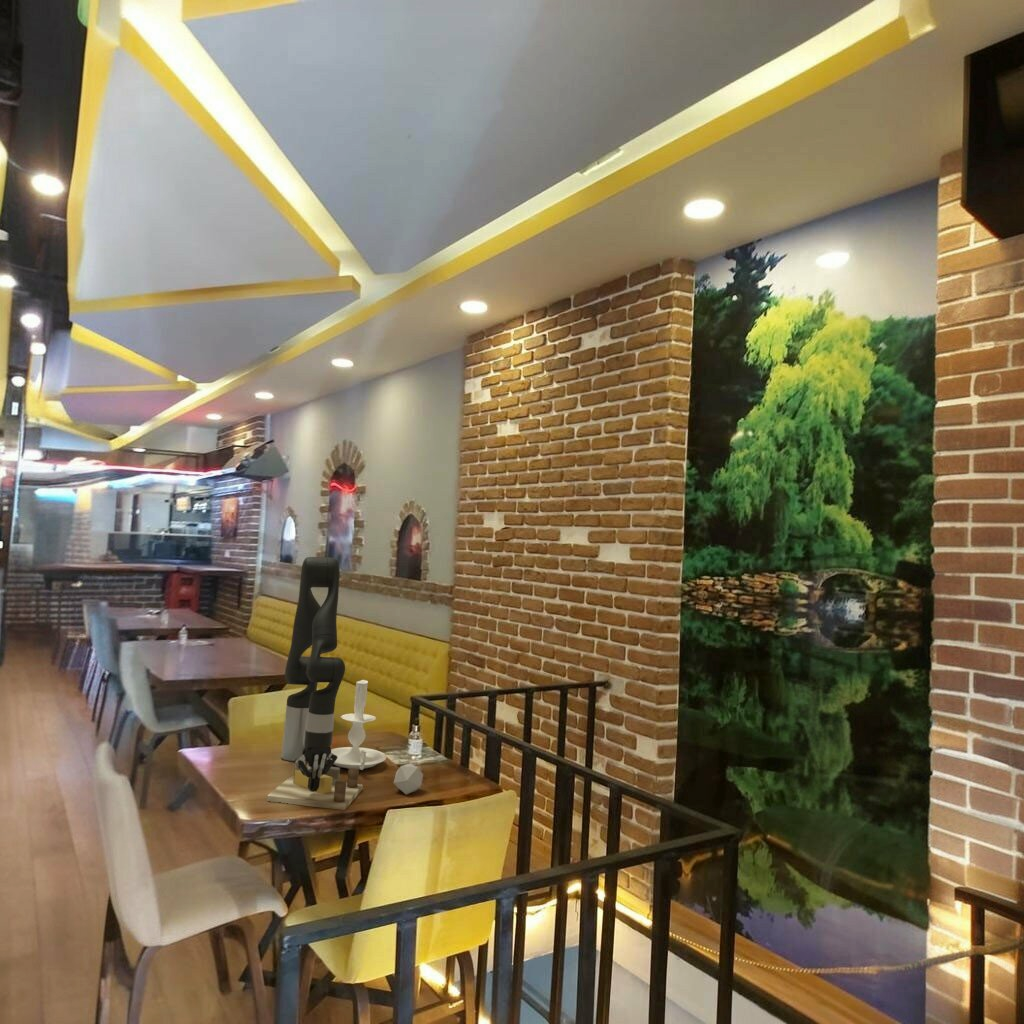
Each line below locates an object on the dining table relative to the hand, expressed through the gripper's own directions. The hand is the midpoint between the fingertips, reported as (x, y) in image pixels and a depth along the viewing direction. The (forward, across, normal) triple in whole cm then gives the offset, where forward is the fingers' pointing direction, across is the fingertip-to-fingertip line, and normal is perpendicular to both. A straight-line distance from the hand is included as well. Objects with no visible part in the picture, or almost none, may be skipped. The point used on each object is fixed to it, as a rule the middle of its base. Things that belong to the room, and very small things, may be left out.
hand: (312, 790), depth 212 cm
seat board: (+3, -3, -3) cm, 5 cm away
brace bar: (+1, -3, -6) cm, 6 cm away
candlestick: (+3, -28, -20) cm, 34 cm away
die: (+3, -28, +8) cm, 29 cm away
